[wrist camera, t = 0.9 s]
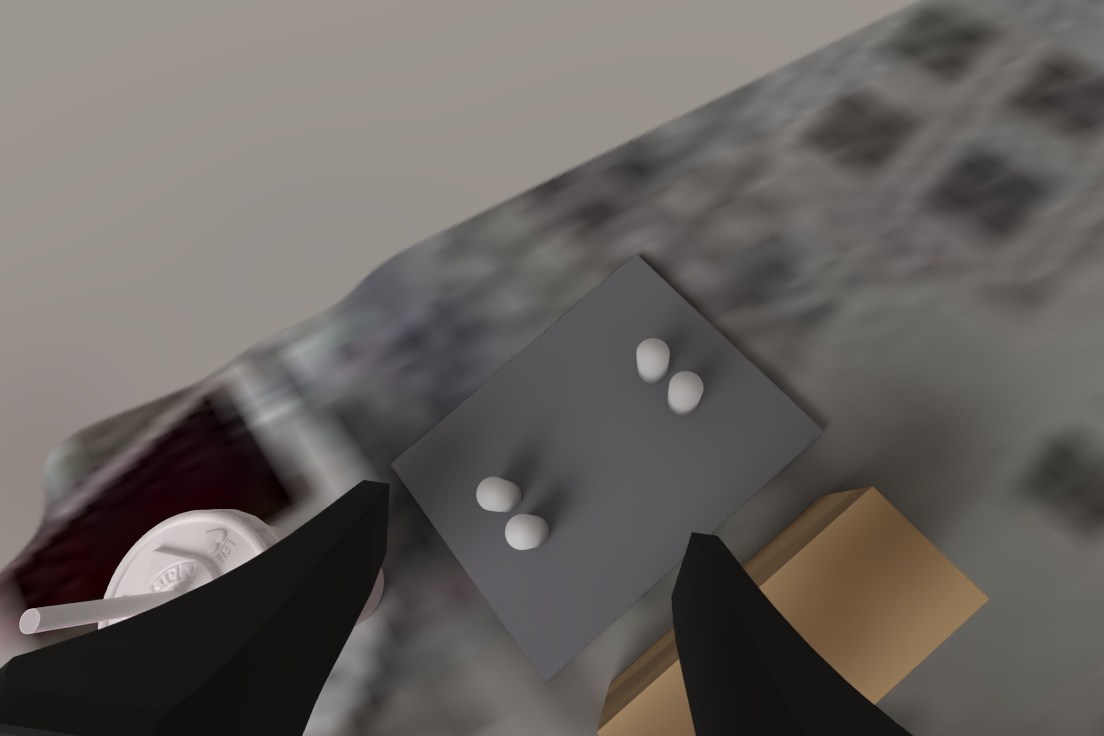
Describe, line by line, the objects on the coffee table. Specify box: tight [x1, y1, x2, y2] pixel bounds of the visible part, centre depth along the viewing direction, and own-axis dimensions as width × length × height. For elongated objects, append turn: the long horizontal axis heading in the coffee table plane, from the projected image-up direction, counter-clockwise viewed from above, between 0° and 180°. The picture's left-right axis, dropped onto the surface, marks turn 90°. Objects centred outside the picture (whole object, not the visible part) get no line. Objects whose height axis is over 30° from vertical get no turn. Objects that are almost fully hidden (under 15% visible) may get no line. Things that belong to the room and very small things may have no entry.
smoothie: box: [20, 509, 384, 634], centre depth 20 cm, size 6×6×14 cm
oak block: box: [597, 486, 989, 736], centre depth 20 cm, size 4×12×6 cm, turn 129°
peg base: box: [390, 254, 824, 683], centre depth 24 cm, size 12×16×3 cm
